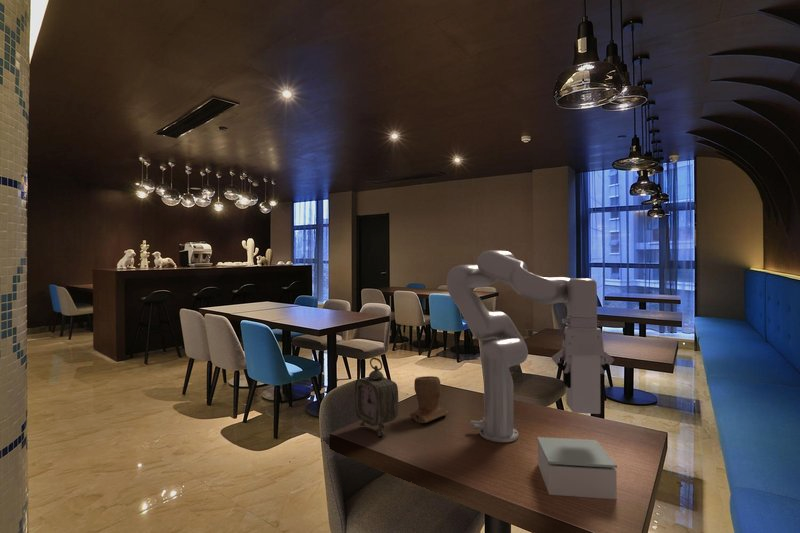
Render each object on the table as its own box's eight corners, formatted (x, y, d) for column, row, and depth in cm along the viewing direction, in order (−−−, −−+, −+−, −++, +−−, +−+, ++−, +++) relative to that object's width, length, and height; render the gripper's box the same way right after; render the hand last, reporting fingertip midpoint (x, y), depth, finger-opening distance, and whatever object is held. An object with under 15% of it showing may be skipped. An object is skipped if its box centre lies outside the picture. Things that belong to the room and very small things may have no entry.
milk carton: (600, 414, 111) (600, 343, 111) (572, 413, 112) (572, 343, 112) (592, 405, 118) (592, 338, 118) (566, 404, 119) (565, 338, 119)
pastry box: (549, 494, 102) (548, 466, 102) (537, 464, 118) (537, 439, 118) (616, 499, 100) (616, 470, 100) (596, 467, 115) (596, 442, 115)
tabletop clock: (355, 427, 146) (354, 356, 146) (376, 420, 152) (375, 352, 152) (379, 440, 135) (378, 363, 135) (400, 433, 140) (400, 359, 140)
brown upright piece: (428, 408, 164) (428, 370, 164) (452, 416, 156) (452, 376, 156) (401, 418, 153) (401, 378, 153) (425, 427, 145) (425, 384, 145)
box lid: (548, 463, 102) (548, 461, 102) (537, 439, 118) (537, 437, 118) (617, 467, 100) (616, 465, 100) (596, 442, 115) (596, 440, 115)
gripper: (553, 324, 112) (553, 390, 112) (620, 325, 110) (621, 391, 110) (546, 320, 120) (546, 382, 120) (609, 321, 118) (610, 383, 118)
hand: (582, 386), depth 115 cm, fingers closed on milk carton, 7 cm apart
